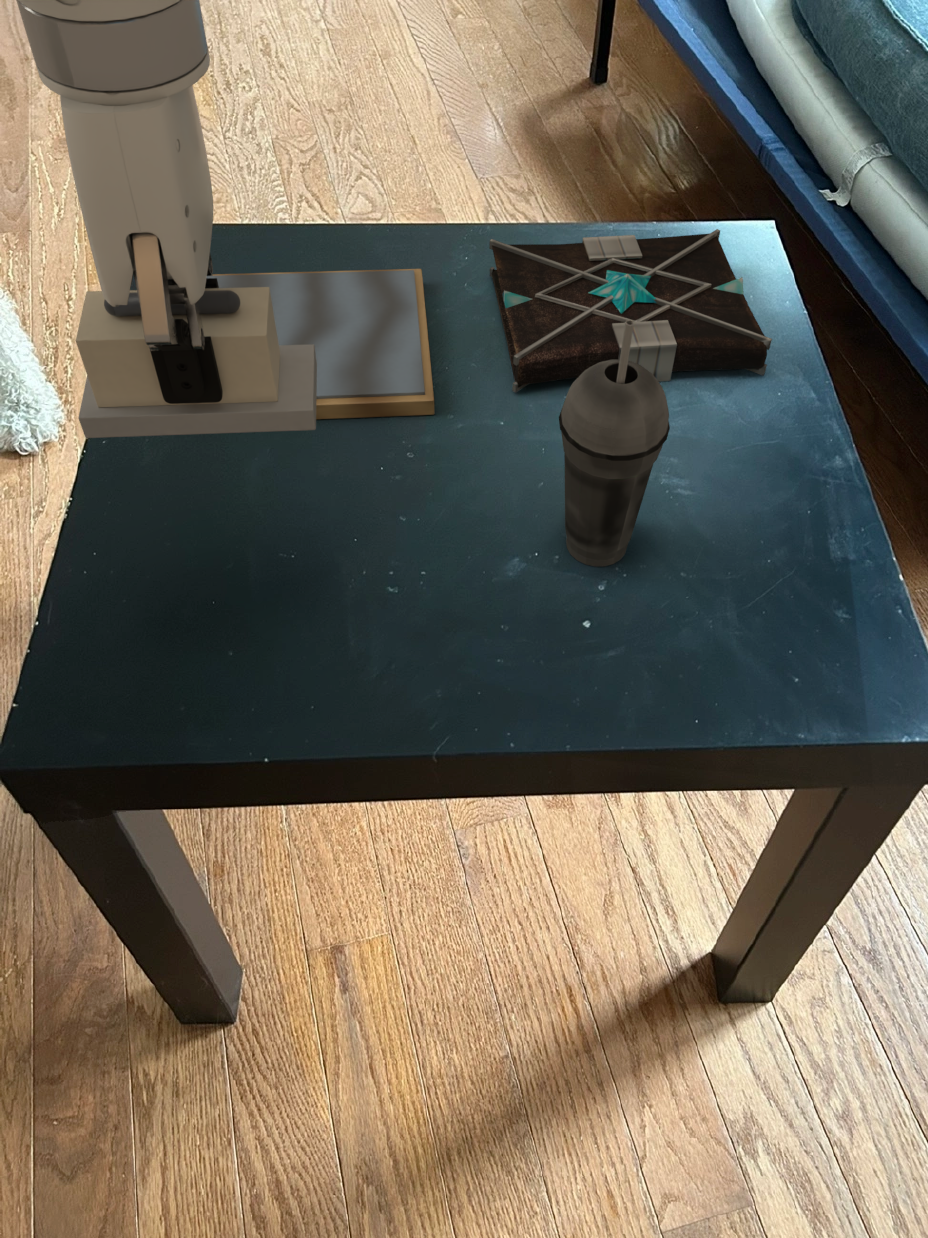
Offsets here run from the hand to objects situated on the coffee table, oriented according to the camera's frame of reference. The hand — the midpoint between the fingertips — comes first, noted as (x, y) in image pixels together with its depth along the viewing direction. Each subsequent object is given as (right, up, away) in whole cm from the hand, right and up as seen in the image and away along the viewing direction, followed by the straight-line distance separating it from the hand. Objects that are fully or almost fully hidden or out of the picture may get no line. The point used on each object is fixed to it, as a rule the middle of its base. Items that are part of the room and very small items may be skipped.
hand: (197, 367), depth 63 cm
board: (+1, +10, +30) cm, 32 cm away
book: (+27, +13, +34) cm, 46 cm away
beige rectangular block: (0, -1, +2) cm, 2 cm away
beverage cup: (+24, -8, +18) cm, 31 cm away
